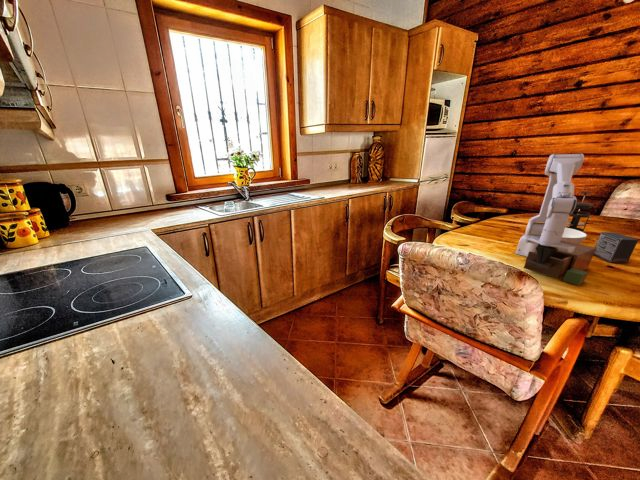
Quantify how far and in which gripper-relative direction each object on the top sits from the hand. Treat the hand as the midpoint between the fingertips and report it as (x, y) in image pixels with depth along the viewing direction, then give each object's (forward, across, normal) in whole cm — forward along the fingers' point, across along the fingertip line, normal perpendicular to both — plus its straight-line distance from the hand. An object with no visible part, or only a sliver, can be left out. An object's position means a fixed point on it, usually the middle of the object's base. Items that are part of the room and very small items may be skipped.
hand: (541, 264), depth 107 cm
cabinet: (+5, 0, +17) cm, 17 cm away
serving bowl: (+4, -15, +46) cm, 48 cm away
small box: (+4, +6, +44) cm, 44 cm away
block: (+5, +9, +6) cm, 12 cm away
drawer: (+4, 0, +6) cm, 8 cm away
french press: (+3, -18, +69) cm, 71 cm away
